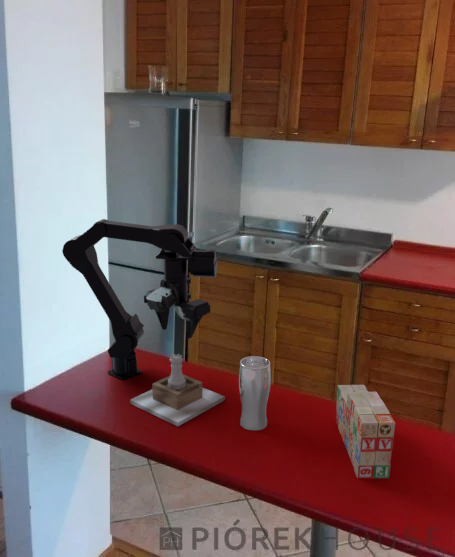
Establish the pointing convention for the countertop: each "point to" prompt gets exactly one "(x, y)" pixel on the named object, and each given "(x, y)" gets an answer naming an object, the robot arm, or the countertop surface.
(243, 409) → the beer glass
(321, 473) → the countertop surface
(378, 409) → the stack of blocks
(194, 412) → the board
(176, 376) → the rook chess piece
